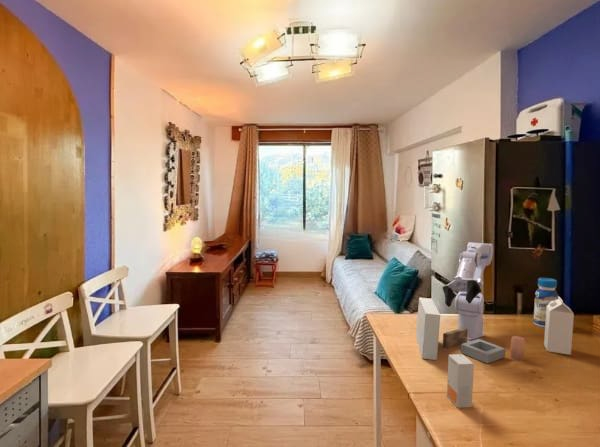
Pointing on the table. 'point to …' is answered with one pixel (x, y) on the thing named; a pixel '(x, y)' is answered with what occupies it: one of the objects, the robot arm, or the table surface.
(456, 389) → the skincare box
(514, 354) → the peach egg shape
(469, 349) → the socket block
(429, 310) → the skincare box
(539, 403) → the table surface
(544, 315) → the beverage bottle
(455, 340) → the walnut wall
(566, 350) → the milk carton
